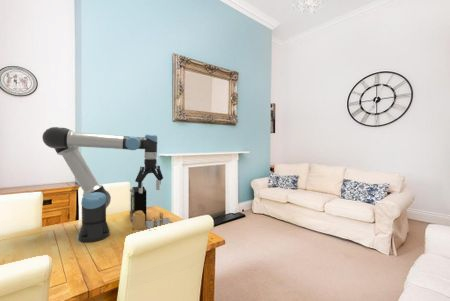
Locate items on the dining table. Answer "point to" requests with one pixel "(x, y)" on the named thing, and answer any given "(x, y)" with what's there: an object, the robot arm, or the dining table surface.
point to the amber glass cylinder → (155, 221)
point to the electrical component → (138, 201)
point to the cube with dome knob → (138, 220)
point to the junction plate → (151, 223)
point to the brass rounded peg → (161, 216)
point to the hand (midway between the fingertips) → (149, 191)
